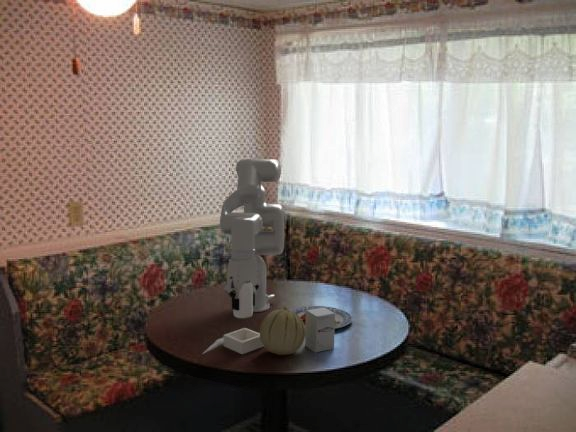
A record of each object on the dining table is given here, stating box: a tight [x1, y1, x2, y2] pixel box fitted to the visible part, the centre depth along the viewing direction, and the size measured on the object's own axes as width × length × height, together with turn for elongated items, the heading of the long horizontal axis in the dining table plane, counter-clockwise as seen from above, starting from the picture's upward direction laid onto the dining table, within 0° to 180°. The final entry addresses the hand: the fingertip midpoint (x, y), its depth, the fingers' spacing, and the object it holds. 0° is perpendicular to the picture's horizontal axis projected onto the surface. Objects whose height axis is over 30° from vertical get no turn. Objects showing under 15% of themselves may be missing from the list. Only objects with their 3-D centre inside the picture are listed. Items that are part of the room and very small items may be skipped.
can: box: [232, 281, 254, 319], centre depth 191 cm, size 6×6×12 cm
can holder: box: [222, 327, 264, 355], centre depth 194 cm, size 10×10×4 cm
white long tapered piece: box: [202, 337, 224, 355], centre depth 194 cm, size 15×3×2 cm, turn 152°
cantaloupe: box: [259, 306, 305, 356], centre depth 187 cm, size 15×15×15 cm
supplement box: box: [304, 308, 335, 354], centre depth 192 cm, size 7×7×13 cm
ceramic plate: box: [289, 305, 353, 330], centre depth 217 cm, size 26×26×3 cm
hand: (243, 306), depth 191 cm, fingers closed on can, 6 cm apart
